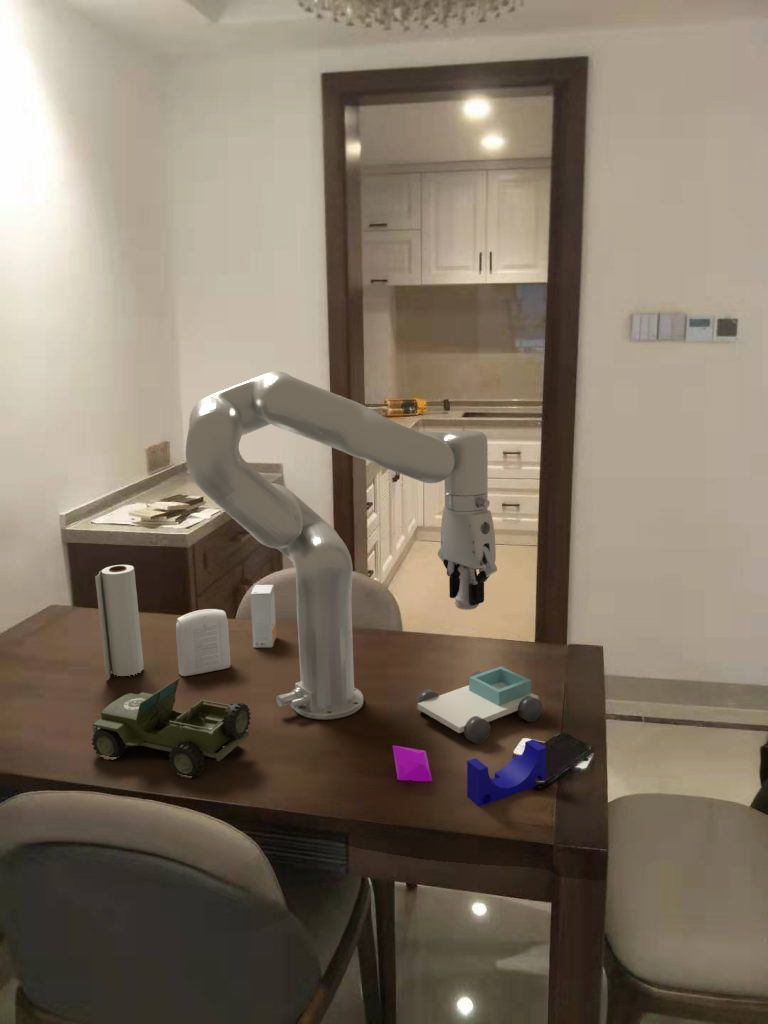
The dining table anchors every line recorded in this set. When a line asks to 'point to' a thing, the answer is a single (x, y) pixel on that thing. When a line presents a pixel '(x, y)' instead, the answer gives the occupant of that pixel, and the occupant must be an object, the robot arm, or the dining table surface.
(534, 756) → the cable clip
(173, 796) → the dining table surface
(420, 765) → the crystal
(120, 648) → the paper towel roll
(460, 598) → the rook chess piece
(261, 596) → the skincare box
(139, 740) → the toy jeep
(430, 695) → the chassis
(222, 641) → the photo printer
